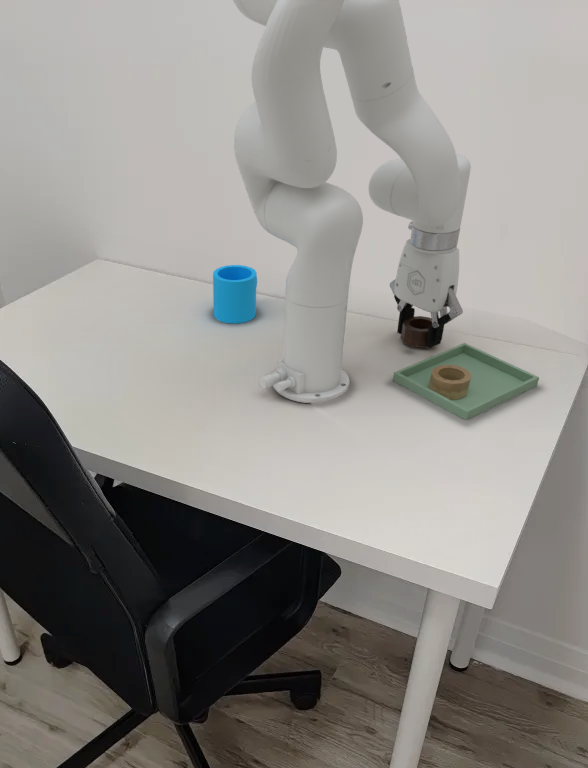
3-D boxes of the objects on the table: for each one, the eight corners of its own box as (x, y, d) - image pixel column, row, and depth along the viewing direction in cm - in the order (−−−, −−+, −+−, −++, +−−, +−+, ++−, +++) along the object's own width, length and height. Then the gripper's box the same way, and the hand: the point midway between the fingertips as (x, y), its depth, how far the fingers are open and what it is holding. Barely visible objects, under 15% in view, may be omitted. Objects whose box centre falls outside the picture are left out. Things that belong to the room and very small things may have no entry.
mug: (242, 327, 144) (242, 285, 139) (205, 317, 148) (204, 276, 143) (273, 303, 152) (274, 263, 147) (237, 295, 156) (237, 255, 151)
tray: (465, 423, 117) (467, 411, 116) (392, 383, 127) (393, 372, 126) (536, 388, 125) (539, 377, 123) (462, 353, 134) (464, 342, 133)
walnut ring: (419, 350, 133) (422, 334, 131) (394, 338, 137) (396, 322, 135) (443, 340, 136) (446, 324, 134) (417, 328, 140) (420, 313, 138)
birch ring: (449, 403, 120) (453, 387, 119) (421, 388, 124) (423, 372, 122) (475, 392, 123) (479, 375, 121) (446, 377, 127) (449, 361, 125)
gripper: (379, 227, 129) (368, 327, 140) (460, 258, 118) (441, 363, 129) (411, 218, 132) (397, 315, 144) (492, 246, 121) (471, 350, 132)
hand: (418, 337), depth 136 cm, fingers closed on walnut ring, 6 cm apart
